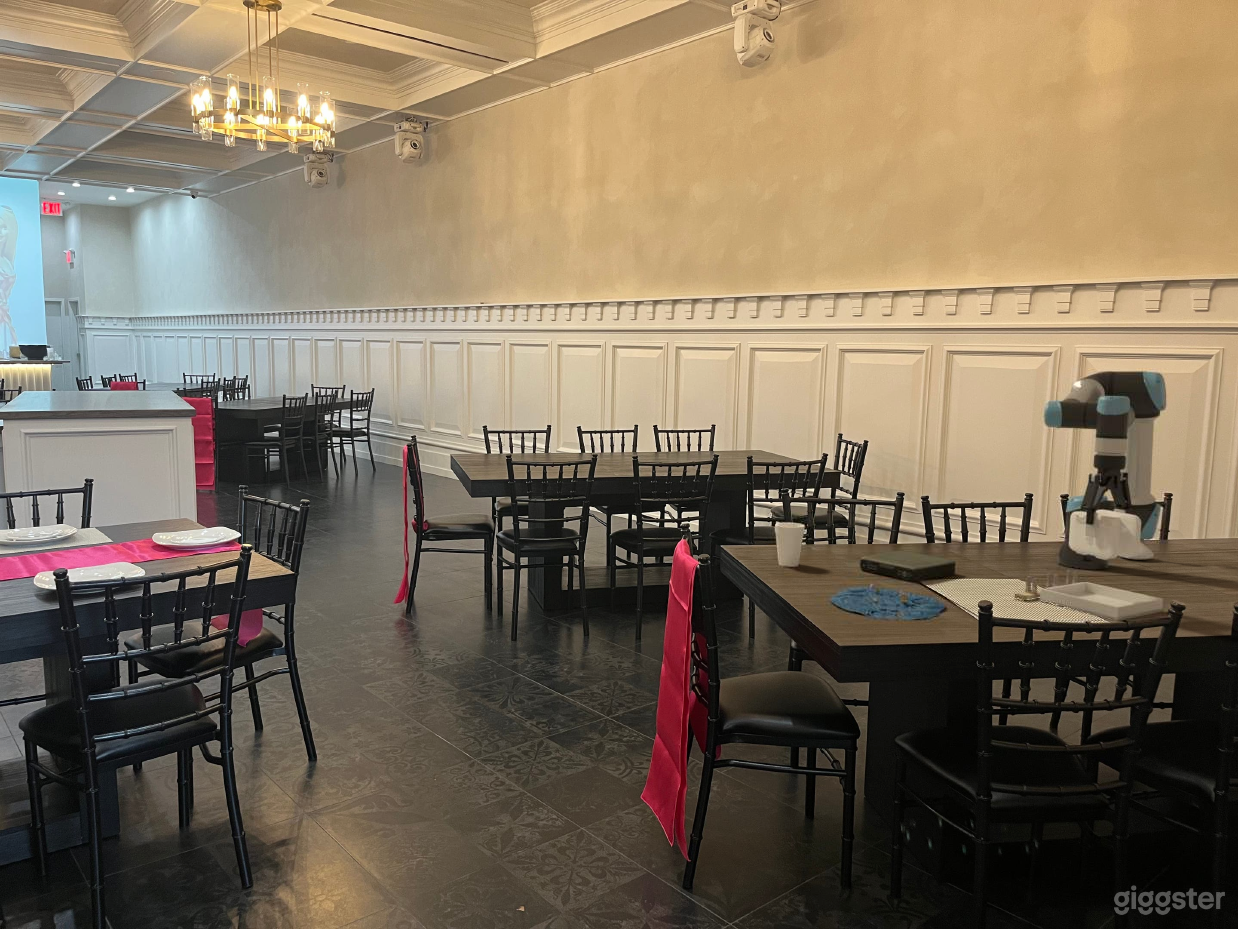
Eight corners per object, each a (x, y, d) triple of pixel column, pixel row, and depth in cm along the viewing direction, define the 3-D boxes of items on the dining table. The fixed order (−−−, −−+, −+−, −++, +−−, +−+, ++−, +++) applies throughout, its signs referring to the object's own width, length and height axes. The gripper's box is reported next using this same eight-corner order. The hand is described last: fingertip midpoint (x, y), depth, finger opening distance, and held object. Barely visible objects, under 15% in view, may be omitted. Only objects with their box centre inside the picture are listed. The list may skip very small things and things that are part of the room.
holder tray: (1084, 593, 261) (1085, 581, 260) (1161, 611, 242) (1162, 598, 241) (1039, 601, 251) (1040, 589, 250) (1116, 620, 232) (1117, 607, 231)
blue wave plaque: (970, 624, 233) (972, 604, 233) (862, 628, 227) (864, 607, 226) (910, 592, 262) (911, 574, 261) (813, 594, 256) (814, 576, 255)
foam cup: (792, 560, 301) (793, 521, 300) (809, 566, 293) (810, 526, 292) (768, 562, 297) (769, 523, 296) (785, 568, 289) (786, 528, 288)
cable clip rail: (1076, 588, 267) (1078, 568, 266) (1086, 590, 264) (1087, 570, 264) (1014, 599, 253) (1015, 577, 252) (1023, 601, 250) (1025, 580, 250)
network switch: (959, 574, 285) (960, 559, 285) (924, 586, 269) (924, 569, 268) (891, 563, 302) (892, 548, 301) (854, 573, 286) (854, 557, 285)
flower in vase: (1145, 563, 305) (1150, 489, 302) (1109, 557, 314) (1114, 485, 311) (1161, 558, 313) (1166, 486, 310) (1126, 553, 322) (1131, 483, 319)
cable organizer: (1142, 560, 239) (1145, 516, 238) (1111, 562, 236) (1114, 518, 235) (1095, 549, 253) (1098, 508, 252) (1065, 551, 250) (1068, 509, 249)
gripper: (1122, 451, 251) (1117, 529, 253) (1069, 454, 239) (1064, 536, 241) (1150, 453, 245) (1144, 533, 247) (1096, 456, 233) (1090, 540, 235)
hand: (1104, 535), depth 244 cm, fingers closed on cable organizer, 11 cm apart
